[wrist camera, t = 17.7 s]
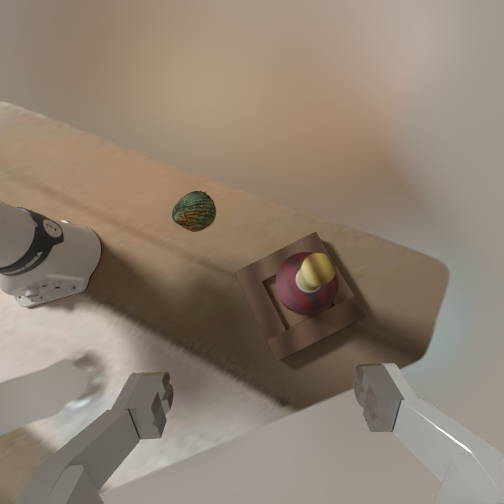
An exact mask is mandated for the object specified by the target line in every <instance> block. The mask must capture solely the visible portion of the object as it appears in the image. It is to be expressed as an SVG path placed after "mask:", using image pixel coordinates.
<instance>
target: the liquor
mask: <svg viewBox="0 0 504 504" xmlns="http://www.w3.org/2000/svg"><path fill="white" fill-rule="evenodd" d="M338 288H339V280H338V275H337V273H336V268H335V264H334V262H333V260H332V259H331V258H330V257H329V256H327V255H325V254H322V253H312V252H300V253H296V254H293V255H292V256H290V257H288V258H287V259H286V260H285V261H284V262H283V263H282V264H281V265H280V267H279V269H278V271H277V275H276V289H277V292H278V295H279V298H280V301H281V303H282V304H283V305H284V306H285V307H286V308H287V309H289V310H291V311H296V312H299V313H303V314H314V313H318V312H321V311H323V310H324V309H326V308H327V307H329V306H330V305H331V304H332V302H333V301H334V300H335V298H336V295H337V293H338Z"/></svg>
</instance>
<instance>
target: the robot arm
mask: <svg viewBox="0 0 504 504" xmlns="http://www.w3.org/2000/svg"><path fill="white" fill-rule="evenodd" d="M100 255H101V245H100V241H99V238H98V236H97V235H96V234H95V232H94V231H92V230H91V229H89V228H87V227H83V226H77V225H73V224H72V223H70V222H68V221H64V220H61V221H59V220H55V219H52V218H48V217H45V216H43V215H41V214H39V213H36V212H33V211H32V210H29V209H25V208H21V207H14V206H11V205H9V204H6V203H4V202H1V201H0V288H1V289H2V291H3V292H5V293H6V294H9V295H14V297H15V299H16V301H17V302H18V303H19V304H20V305H21V306H22V307H31V306H35V305H38V304H42V303H45V302H49V301H52V300H56V299H59V298H63V297H66V296H70V295H73V294H77V293H80V292H83V291H84V290H85V289H86V287H87V284H88V281H89V277H90V276H91V274H92V273H93V271H94V270H95V268H96V266H97V264H98V262H99V259H100ZM75 287H76V288H75ZM355 371H356V374H357V377H356V378H354V392H355V395H356V398H357V401H358V403H359V404H360V405H361V406H362V407H363V408H364V413H363V415H364V417H365V420H366V422H367V424H368V427H369V429H370V431H371V432H393V434H394V435H395V436H396V437H397V438H398V439H399V440H400V441H401V442H402V443H403V444H404V445H405V446H406V447H407V448H408V449H409V450H410V451H411V452H412V453H413V454H414V455H415V456H416V457H417V458H418V459H419V460H420V461H421V462H422V463H423V464H424V465H425V466H426V467H427V468H428V469H429V470H430V471H431V472H432V473H433V474H434V475H435V476H436V477H437V478H438V479H439V480H440V481H441V482H442V484H441V486H440V488H439V491H438V493H437V496H436V501H437V503H438V504H504V456H503V455H502V454H501V452H499V451H498V450H496V449H495V448H493V447H492V446H491V445H489V444H488V443H486V442H485V441H483V440H482V439H480V438H479V437H478V436H476V435H475V434H473V433H472V432H470V431H469V430H467V429H466V428H464V427H463V426H462V425H460V424H459V423H457V422H456V421H454V420H453V419H451V418H450V417H449V416H447V415H446V414H444V413H443V412H441V411H440V410H438V409H437V408H436V407H434V406H432V405H431V404H430V403H428V402H427V401H425V400H424V399H419V397H418V396H417V394H416V393H415V392H414V390H413V389H412V387H411V386H410V384H409V383H408V382H407V380H406V378H405V377H404V376H403V374H402V373H401V371H400V370H399V368H398V367H397V365H396V364H394V363H385V364H361V365H357V366H356V370H355ZM169 380H170V376H169V373H167V372H157V373H133V374H131V375H130V376H129V378H128V380H127V382H126V384H125V385H124V387H123V389H122V391H121V393H120V394H119V396H118V398H117V400H116V402H115V403H114V405H113V407H112V409H111V410H107V411H106V412H104V413H103V414H102V415H101V416H100V417H98V418H97V419H96V420H95V421H93V422H92V423H91V424H90V425H89V426H87V427H86V428H85V429H84V430H83V431H81V432H80V433H79V434H78V435H77V436H75V437H74V438H73V439H72V440H70V441H69V442H68V443H67V444H66V445H64V446H63V447H62V448H61V449H60V450H58V451H57V452H56V453H55V454H53V455H52V456H51V457H50V458H49V459H47V460H46V461H45V462H44V463H43V464H41V466H40V467H39V469H38V470H37V471H36V473H35V474H34V476H33V477H32V479H31V480H30V482H29V483H28V485H27V486H26V488H25V489H24V491H23V492H22V493H21V495H20V496H19V498H18V499H17V501H16V502H15V504H104V502H103V500H102V498H101V497H100V495H99V493H98V490H99V489H100V488H101V487H102V486H103V484H104V483H105V482H106V481H107V480H108V478H109V477H110V476H111V475H112V474H113V472H114V471H115V470H116V469H117V468H118V466H119V465H120V464H121V463H122V462H123V461H124V459H125V458H126V457H127V456H128V455H129V453H130V452H131V451H132V450H133V449H134V447H135V446H136V445H137V444H138V443H139V441H140V439H156V438H161V436H162V433H163V430H164V427H165V424H166V417H165V414H166V413H167V412H168V411H169V410H170V408H171V405H172V401H173V387H172V385H171V384H170V383H169Z"/></svg>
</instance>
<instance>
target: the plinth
mask: <svg viewBox="0 0 504 504" xmlns="http://www.w3.org/2000/svg"><path fill="white" fill-rule="evenodd" d="M300 252H312V253H322V254H325V255H327V256H329V257H330V258H331V256H330V254H329V253H328V251H327V249H326V248H325V246H324V245H323V243H322V241H321V240H320V238H319V236H318V235H317V233H316V232H314V233H312V234H310V235H308V236H306V237H304V238H302V239H300V240H298V241H296V242H294V243H292V244H290V245H288V246H286V247H284V248H282V249H280V250H278V251H276V252H274V253H272V254H270V255H268V256H266V257H264V258H262V259H260V260H258V261H256V262H254V263H252V264H250V265H248V266H246V267H244V268H242V269H241V270H239V271H237V272H235V274H236V277H237V279H238V281H239V283H240V285H241V287H242V289H243V291H244V294H245V296H246V298H247V300H248V302H249V304H250V306H251V308H252V311H253V313H254V315H255V317H256V319H257V321H258V323H259V325H260V328H261V330H262V332H263V334H264V336H265V338H266V340H267V342H268V345H269V347H270V349H271V351H272V353H273V355H274V357H275V359H276V362H277V361H279V360H281V359H283V358H285V357H287V356H289V355H291V354H293V353H295V352H297V351H299V350H301V349H303V348H305V347H307V346H309V345H311V344H313V343H315V342H317V341H319V340H321V339H323V338H325V337H327V336H329V335H331V334H333V333H335V332H337V331H339V330H341V329H342V328H344V327H346V326H348V325H350V324H352V323H354V322H356V321H358V320H360V319H362V318H364V317H366V314H365V313H364V311H363V309H362V308H361V306H360V304H359V303H358V301H357V299H356V298H355V296H354V294H353V293H352V291H351V289H350V288H349V286H348V284H347V283H346V281H345V279H344V278H343V276H342V274H341V273H340V271H339V269H338V268H337V266H336V264H335V263H334V264H335V268H336V273H337V275H338V280H339V288H338V293H337V295H336V298H335V300H334V301H333V302H332V304H331V305H330V306H329V307H327V308H326V309H324V310H323V311H321V312H318V313H314V314H303V313H299V312H296V311H291V310H289V309H287V308H286V307H285V306H284V305H283V304H282V303H281V301H280V298H279V295H278V292H277V289H276V275H277V271H278V269H279V267H280V265H281V264H282V263H283V262H284V261H285V260H286V259H287V258H288V257H290V256H292V255H293V254H296V253H300ZM331 259H332V258H331ZM332 260H333V259H332ZM333 262H334V261H333Z"/></svg>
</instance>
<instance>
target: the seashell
mask: <svg viewBox="0 0 504 504" xmlns="http://www.w3.org/2000/svg"><path fill="white" fill-rule="evenodd" d="M214 209H215V206H214V203H213V200H212V199H211V198H210V197H209V195H206V193H205V192H202V191H194V192H191V193H189V194H187V195H185V196H184V197H183V198H181V199H180V200H179V201H178V202H177V204H176V205H175V207H174V209H173V211H172V218H173V220H174V222H176V223H178V224H182V225H183V227H184V228H186V229H187V230H190V231H198V230H202V229H203V228H205V227H206V225H210V223H211V221H213V220H214V216H215V210H214Z"/></svg>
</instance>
